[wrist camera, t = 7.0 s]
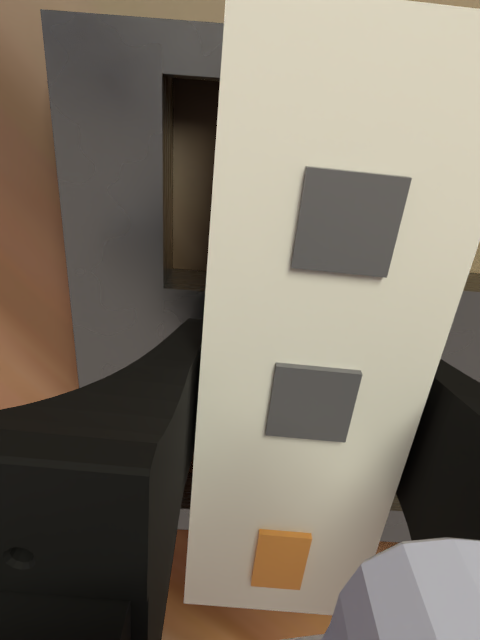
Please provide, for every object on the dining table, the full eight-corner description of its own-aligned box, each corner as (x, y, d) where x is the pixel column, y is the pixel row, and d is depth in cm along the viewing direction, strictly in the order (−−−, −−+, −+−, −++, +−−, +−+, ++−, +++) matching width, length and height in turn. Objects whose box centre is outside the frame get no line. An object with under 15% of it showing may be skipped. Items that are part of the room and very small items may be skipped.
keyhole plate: (106, 489, 17) (93, 524, 16) (68, 22, 11) (40, 9, 9) (572, 517, 17) (601, 554, 16) (806, 78, 11) (892, 74, 10)
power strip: (202, 463, 16) (183, 609, 11) (236, 35, 10) (226, -24, 6) (324, 474, 16) (355, 623, 11) (422, 56, 11) (561, 15, 6)
